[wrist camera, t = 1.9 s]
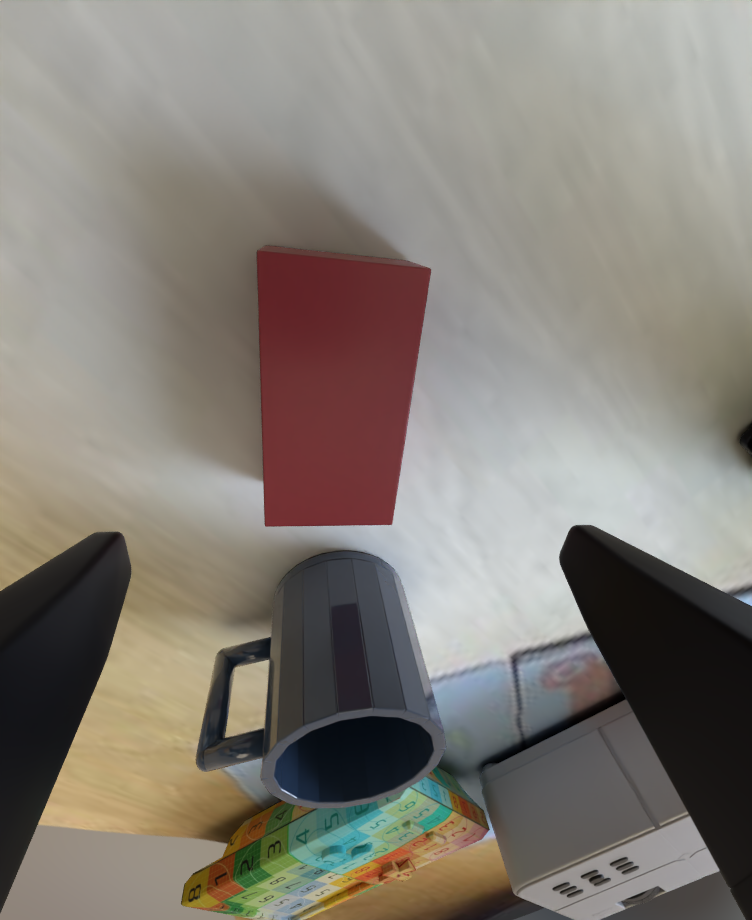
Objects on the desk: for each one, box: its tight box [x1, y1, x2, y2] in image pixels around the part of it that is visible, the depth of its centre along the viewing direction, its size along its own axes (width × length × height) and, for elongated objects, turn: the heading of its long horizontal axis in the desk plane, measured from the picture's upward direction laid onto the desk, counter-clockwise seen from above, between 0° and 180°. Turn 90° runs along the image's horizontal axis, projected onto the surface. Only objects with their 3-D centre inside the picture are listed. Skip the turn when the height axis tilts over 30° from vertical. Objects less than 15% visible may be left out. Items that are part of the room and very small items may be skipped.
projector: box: [480, 700, 720, 920], centre depth 33 cm, size 17×22×8 cm
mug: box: [196, 551, 446, 809], centre depth 19 cm, size 10×7×8 cm
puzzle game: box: [181, 766, 489, 920], centre depth 32 cm, size 12×5×20 cm
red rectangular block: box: [257, 245, 431, 526], centre depth 15 cm, size 10×5×3 cm, turn 174°
